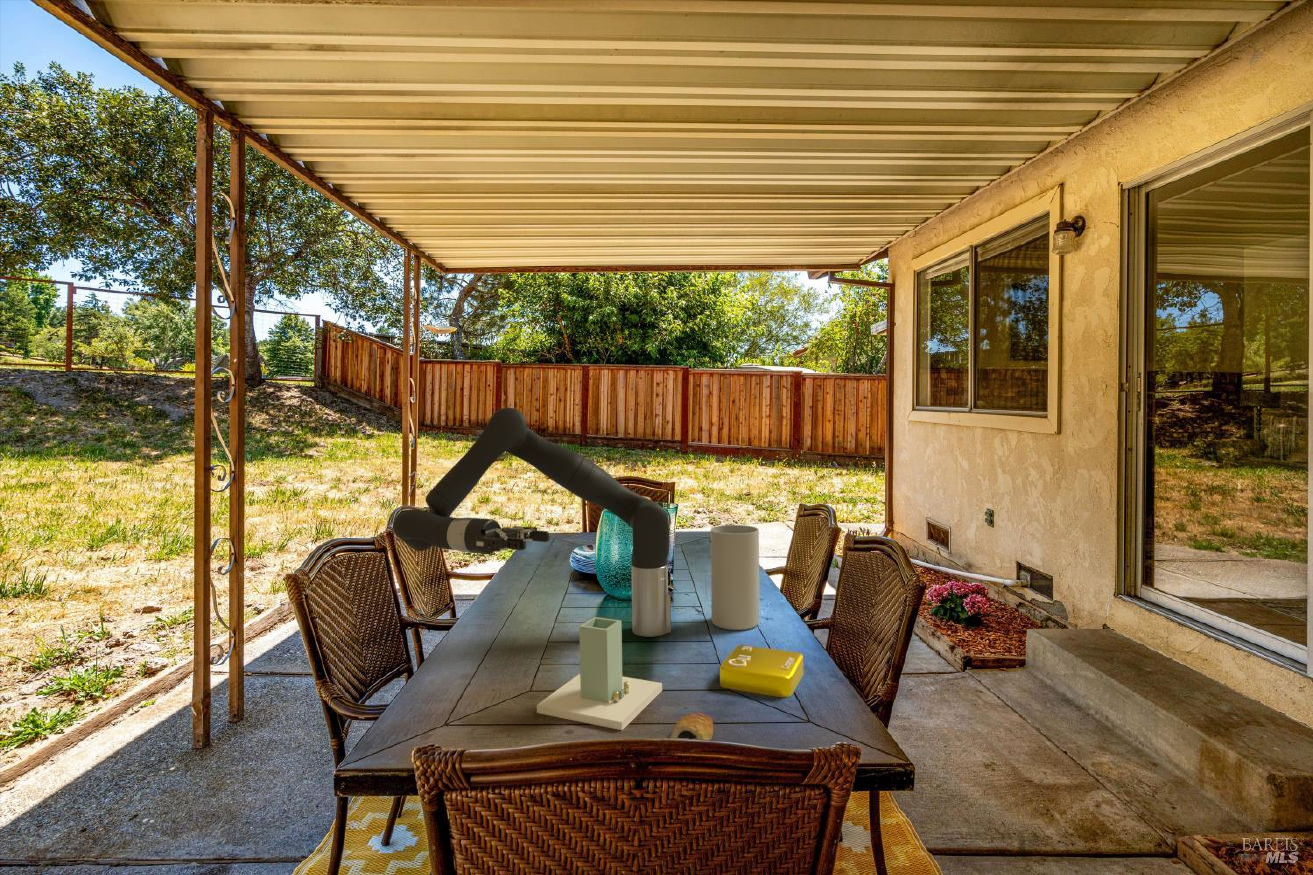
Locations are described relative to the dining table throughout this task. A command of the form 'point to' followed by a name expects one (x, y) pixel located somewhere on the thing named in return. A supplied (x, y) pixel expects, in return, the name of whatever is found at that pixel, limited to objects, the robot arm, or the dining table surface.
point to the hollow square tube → (601, 659)
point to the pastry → (694, 727)
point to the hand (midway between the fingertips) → (536, 540)
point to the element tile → (762, 670)
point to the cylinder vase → (735, 576)
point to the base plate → (601, 703)
